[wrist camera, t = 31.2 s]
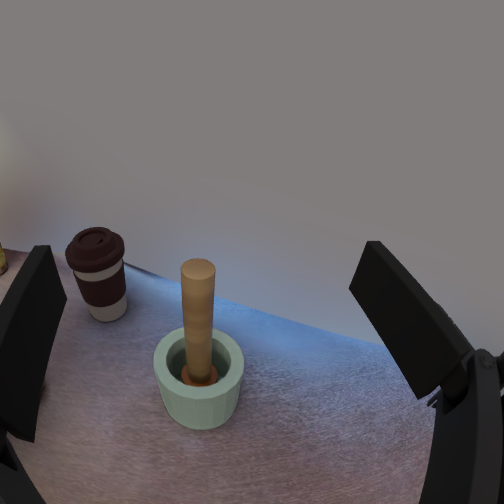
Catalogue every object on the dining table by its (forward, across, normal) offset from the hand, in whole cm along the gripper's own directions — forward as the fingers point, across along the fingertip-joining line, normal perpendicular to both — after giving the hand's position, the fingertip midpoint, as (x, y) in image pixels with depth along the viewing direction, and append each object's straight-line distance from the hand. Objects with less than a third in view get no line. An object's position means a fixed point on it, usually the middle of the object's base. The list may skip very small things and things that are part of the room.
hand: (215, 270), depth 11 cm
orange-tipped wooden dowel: (+10, 0, -29) cm, 31 cm away
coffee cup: (+28, -15, -30) cm, 44 cm away
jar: (+10, 0, -30) cm, 32 cm away
